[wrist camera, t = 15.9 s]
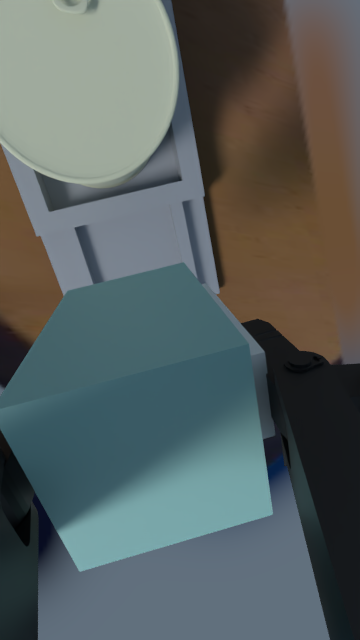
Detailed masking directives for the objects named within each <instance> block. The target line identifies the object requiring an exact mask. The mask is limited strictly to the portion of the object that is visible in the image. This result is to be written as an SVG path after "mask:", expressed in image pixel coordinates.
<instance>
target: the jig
mask: <svg viewBox="0 0 360 640" xmlns="http://www.w3.org/2000/svg"><path fill="white" fill-rule="evenodd" d="M161 1H162V3H163V5H164V7H165V9H166V12H167V14H168V17H169V20H170V23H171V25H172V28H173V32H174V36H175V41H176V46H177V51H178V59H179V90H178V98H177V104H176V108H175V112H174V115H173V119H172V121H171V124H170V127H169V129H168V131H167V133H166V135H165V137H164V139H163V140H162V142H161V143H160V145H159V146H158V148H157V149H156V150H155V152H154V153H153V154H152V155H151V156H150V158H149V160H148V162H147V164H146V165H145V166H144V168H143V169H142V170H141V171H140V172H139V173H138V174H137V175H136V176H135V177H134V178H132V179H131V180H129V181H128V182H126V183H124V184H122V185H119V186H116V187H111V188H92V187H87V186H83V185H81V184H75V183H69V182H64V181H60V180H57V179H54V178H51V177H48V176H46V175H43V174H41V173H39V172H37V171H36V170H34V169H32V168H30V167H29V166H27V165H26V164H24V163H23V162H21V161H20V160H19V159H17V158H16V157H15V156H14V155H13V154H11V153H10V152H9V151H8V150H7V149H6V148H5V147H4V146H3V145H2V144H1V145H2V148H3V151H4V153H5V156H6V158H7V161H8V163H9V166H10V169H11V171H12V174H13V176H14V179H15V182H16V184H17V187H18V189H19V192H20V194H21V197H22V200H23V202H24V205H25V207H26V210H27V212H28V215H29V218H30V220H31V223H32V225H33V228H34V230H35V233H36V236H41V238H42V240H43V243H44V245H45V248H46V251H47V253H48V256H49V258H50V261H51V264H52V266H53V269H54V272H55V274H56V277H57V279H58V282H59V285H60V287H61V290H62V292H63V295H65V294H66V292H67V291H68V290H73V289H77V288H81V287H85V286H89V285H93V284H97V283H101V282H105V281H109V280H113V279H117V278H122V277H126V276H130V275H134V274H138V273H142V272H146V271H150V270H154V269H158V268H162V267H167V266H171V265H175V264H179V263H183V262H184V263H185V264H186V266H187V267H188V268H189V269H190V271H191V272H192V273H193V274H194V276H195V277H196V278H197V279H198V281H199V282H200V283H201V284H204V283H206V284H207V285H208V286H209V287H210V288H211V290H212V291H213V292H214V293H215V294H219V293H220V292H219V286H218V280H217V274H216V269H215V263H214V257H213V252H212V246H211V240H210V234H209V229H208V223H207V217H206V212H205V206H204V200H203V197H204V196H205V193H204V188H203V182H202V176H201V170H200V164H199V159H198V153H197V147H196V141H195V135H194V130H193V124H192V118H191V112H190V106H189V101H188V95H187V89H186V83H185V78H184V72H183V66H182V60H181V54H180V49H179V43H178V37H177V31H176V25H175V20H174V14H173V8H172V2H171V0H161Z"/></svg>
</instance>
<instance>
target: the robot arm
mask: <svg viewBox="0 0 360 640" xmlns="http://www.w3.org/2000/svg"><path fill="white" fill-rule="evenodd" d="M202 286H203V287H204V288H205V289H206V291H207V292H208V293H209V294H210V296H211V297H212V298H213V299H214V301H215V302H216V303H217V304H218V306H219V307H220V308H221V309H222V311H223V312H224V313H225V314H226V316H227V317H228V318H229V319H230V321H231V322H232V323H233V324H234V326H235V327H236V328H237V329H238V331H239V332H240V333H241V334H242V336H243V337H244V338H245V339H246V341H247V342H248V343H249V347H250V354H251V361H252V369H253V376H254V383H255V390H256V397H257V404H258V411H259V418H260V425H261V433H262V439H265V438H268V437H272V436H275V429H274V422H275V423H276V425H277V427H278V428H279V430H280V431H281V440H282V449H283V457H284V466H287V467H288V471H289V475H290V479H291V483H292V487H293V491H294V495H295V499H296V504H297V508H298V512H299V516H300V519H301V524H302V528H303V532H304V536H305V540H306V544H307V548H308V552H309V556H310V560H311V564H312V568H313V572H314V576H315V580H316V585H317V588H318V592H319V597H320V601H321V605H322V609H323V613H324V617H325V621H326V625H327V629H328V633H329V637H330V640H360V364H346V365H330V364H329V362H328V361H327V360H326V359H325V358H324V357H323V356H321V355H319V354H316V353H313V352H307V351H299V350H298V349H297V348H296V347H295V346H294V345H293V344H291V343H290V342H289V341H288V340H287V339H286V338H285V337H284V336H282V334H281V333H280V332H278V331H276V329H275V328H274V327H273V326H272V325H271V324H270V323H268V322H265V321H262V320H259V319H255V320H252V321H248V322H244V323H240V322H239V321H238V320H237V319H236V318H235V316H234V315H233V314H232V313H231V312H230V311H229V309H228V308H227V307H226V306H225V305H224V304H223V302H222V301H221V300H220V299H219V298H218V297H217V295H216V294H215V293H214V292H213V291H212V290H211V288H210V287H209V286H208V285H207V284H206V283H204V284H202ZM273 420H274V421H273ZM34 493H35V491H34V489H33V487H32V485H31V483H30V482H29V480H28V478H27V476H26V474H25V473H24V471H23V469H22V467H21V465H20V464H19V462H18V460H17V458H16V456H15V455H14V453H13V451H12V449H11V448H10V446H9V444H8V442H7V440H6V439H5V437H4V435H3V433H2V431H1V430H0V640H38V514H37V509H36V508H35V506H34V504H33V503H32V499H33V496H34Z"/></svg>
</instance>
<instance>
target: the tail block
mask: <svg viewBox="0 0 360 640" xmlns="http://www.w3.org/2000/svg"><path fill="white" fill-rule="evenodd" d="M0 430H1V431H2V433H3V435H4V437H5V439H6V440H7V442H8V444H9V446H10V448H11V449H12V451H13V453H14V455H15V456H16V458H17V460H18V462H19V464H20V465H21V467H22V469H23V471H24V473H25V474H26V476H27V478H28V480H29V482H30V483H31V485H32V487H33V489H34V491H35V492H36V494H37V496H38V498H39V500H40V501H41V503H42V505H43V507H44V508H45V510H46V512H47V514H48V516H49V518H50V519H51V521H52V523H53V525H54V527H55V528H56V530H57V532H58V534H59V536H60V537H61V539H62V541H63V543H64V545H65V546H66V548H67V550H68V552H69V554H70V555H71V557H72V559H73V561H74V563H75V564H76V566H77V568H78V570H79V572H80V571H84V570H87V569H90V568H93V567H97V566H100V565H104V564H107V563H110V562H114V561H117V560H121V559H124V558H128V557H131V556H134V555H138V554H141V553H144V552H148V551H151V550H154V549H158V548H161V547H164V546H168V545H171V544H175V543H178V542H182V541H185V540H188V539H191V538H195V537H198V536H202V535H205V534H209V533H212V532H215V531H219V530H222V529H225V528H229V527H232V526H235V525H239V524H242V523H246V522H249V521H252V520H256V519H259V518H263V517H266V516H269V515H273V511H272V505H271V497H270V490H269V482H268V475H267V468H266V461H265V454H264V447H263V440H262V433H261V425H260V418H259V411H258V404H257V397H256V390H255V383H254V376H253V369H252V361H251V354H250V347H249V343H248V342H247V341H246V339H245V338H244V337H243V336H242V334H241V333H240V332H239V331H238V329H237V328H236V327H235V326H234V324H233V323H232V322H231V321H230V319H229V318H228V317H227V316H226V314H225V313H224V312H223V311H222V309H221V308H220V307H219V306H218V304H217V303H216V302H215V301H214V299H213V298H212V297H211V296H210V294H209V293H208V292H207V291H206V289H205V288H204V287H203V286H202V284H201V283H200V282H199V281H198V279H197V278H196V277H195V276H194V274H193V273H192V272H191V271H190V269H189V268H188V267H187V266H186V264H185V263H184V262H183V263H179V264H175V265H171V266H167V267H162V268H158V269H154V270H150V271H146V272H142V273H138V274H134V275H130V276H126V277H122V278H117V279H113V280H109V281H105V282H101V283H97V284H93V285H89V286H85V287H81V288H77V289H73V290H68V291H67V292H66V294H65V295H64V297H63V299H62V300H61V302H60V303H59V305H58V306H57V308H56V310H55V311H54V313H53V314H52V316H51V317H50V319H49V321H48V322H47V324H46V325H45V327H44V328H43V330H42V332H41V333H40V335H39V336H38V338H37V339H36V341H35V343H34V344H33V346H32V347H31V349H30V350H29V352H28V354H27V355H26V357H25V358H24V360H23V361H22V363H21V365H20V366H19V368H18V369H17V371H16V372H15V374H14V376H13V377H12V379H11V380H10V382H9V383H8V385H7V387H6V388H5V390H4V391H3V393H2V394H1V396H0Z"/></svg>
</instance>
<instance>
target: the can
mask: <svg viewBox="0 0 360 640" xmlns="http://www.w3.org/2000/svg"><path fill="white" fill-rule="evenodd" d="M178 90H179V59H178V51H177V46H176V41H175V36H174V32H173V28H172V25H171V23H170V20H169V17H168V14H167V12H166V9H165V7H164V5H163V3H162V1H161V0H0V143H1V144H2V145H3V146H4V147H5V148H6V149H7V150H8V151H9V152H10V153H11V154H13V155H14V156H15V157H16V158H17V159H19V160H20V161H21V162H23V163H24V164H26V165H27V166H29V167H30V168H32V169H34V170H36V171H37V172H39V173H41V174H43V175H46V176H48V177H51V178H54V179H57V180H60V181H64V182H69V183H75V184H81V185H83V186H87V187H92V188H111V187H116V186H119V185H122V184H124V183H126V182H128V181H129V180H131V179H132V178H134V177H135V176H136V175H137V174H138V173H139V172H140V171H141V170H142V169H143V168H144V166H145V165H146V164H147V162H148V160H149V158H150V156H151V155H152V154H153V153H154V152H155V150H156V149H157V148H158V146H159V145H160V143H161V142H162V140H163V139H164V137H165V135H166V133H167V131H168V129H169V127H170V124H171V121H172V119H173V115H174V112H175V108H176V104H177V98H178Z"/></svg>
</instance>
